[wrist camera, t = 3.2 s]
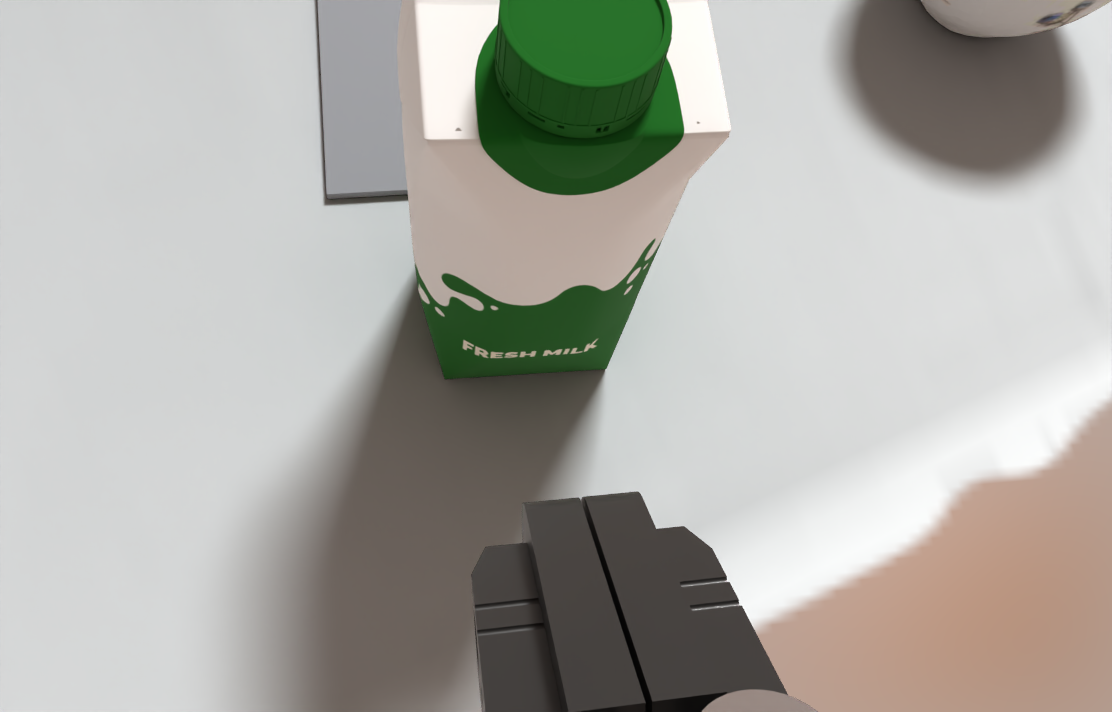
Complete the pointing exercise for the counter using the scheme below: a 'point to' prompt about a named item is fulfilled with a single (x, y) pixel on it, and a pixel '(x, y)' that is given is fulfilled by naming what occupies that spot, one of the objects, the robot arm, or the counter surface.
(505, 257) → the milk carton
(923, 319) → the counter surface
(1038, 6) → the teacup
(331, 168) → the slate mat
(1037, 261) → the counter surface
